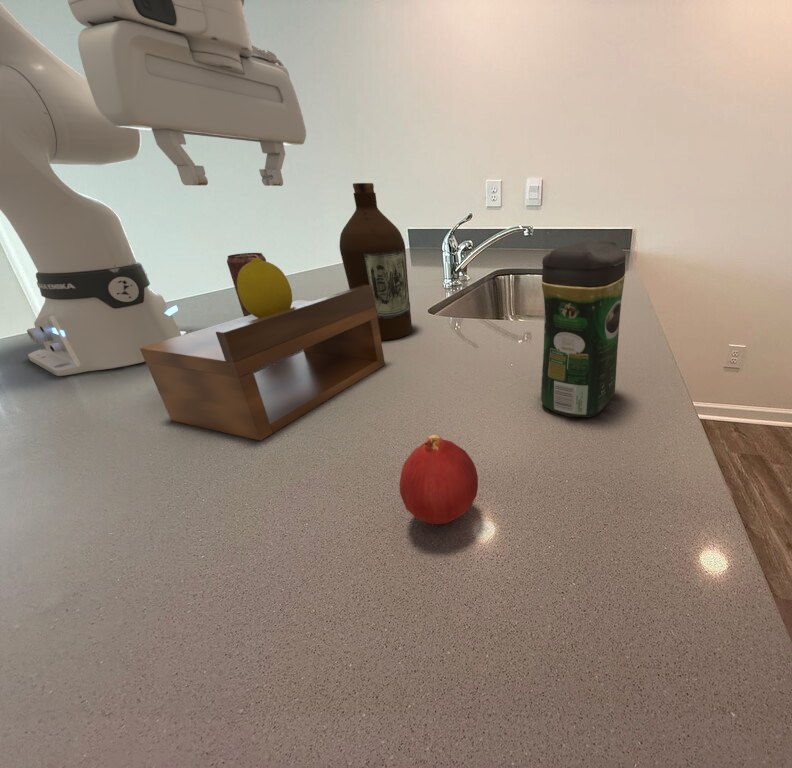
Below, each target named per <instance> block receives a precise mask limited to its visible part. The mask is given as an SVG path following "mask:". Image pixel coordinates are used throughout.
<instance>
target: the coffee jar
mask: <svg viewBox="0 0 792 768" xmlns="http://www.w3.org/2000/svg"><path fill="white" fill-rule="evenodd" d="M626 259H627V258H626V252H624V250H623V249H622V248H621V247H619V246H618V245H617V244H616V242H614V241H609V240H608V241H607V240H589V239H588V240H586V239H585V240H581V241H579V242H578V241H577V242H575V243H572V244H569V245H566V246H563V247H558V248H555V249H552V250H551V251H550V252H549V253H548V254H546V255H544V256H543V258H542V261H541V265H542V271H541V289H542V294H543V304H544V324H543V325H544V327H543V353H542V367H541V368H542V369H541V385H540V386H541V388H540V389H541V390H540V391H541V392H540V397H541V398H540V400H541V403H542V404H543V407H545V408H547V409H548V410H551V411H552V412H553V413H555V414H558V415H561V416H565V417H569V418H578V417H579V418H580V417H582V418H591V417H594V416H596V415H598V414H599V413H600V412H601V411H603V410H604V409H605V408H606V406H608V404H609V403H610V402H611V401H612V399H613V397H614V395H615V392H616V380H617V363H618V348H619V335H620V334H619V333H620V321H621V310H622V301H623V300H622V299H623V292H624V285H625V278H626V276H625V275H626Z"/></svg>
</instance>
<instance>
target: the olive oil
mask: <svg viewBox="0 0 792 768" xmlns="http://www.w3.org/2000/svg"><path fill="white" fill-rule="evenodd" d="M352 188H353V191H354V192H353V198H354V204H355V210H354V212H353V214H352V215H351V217H350V218H349V220H348V221H347V222H346V223H345V225H344V227H343V228H342V230H341V232H340V235H339V252H340V257H341V261H342V265H343V269H344V272H345V277H346V281H347V285H348V290H350V289H353V288H356V287H359V286H362V285H372V289H373V295H374V301H375V306H376V312H377V319H378V325H379V331H380V337H381V342H382V341H392V340H397V339H400V338H403V337H405V336H408V335H409V334H411V333H412V331H413V325H412V324H413V322H412V314H411V302H410V291H409V280H408V267H407V266H408V265H407V252H406V244H405V240H404V238H403V235H402V233H401V231H400V229H398V226H396V225H395V224H394V223H393V222H392V221H391V220H390V219H389V218H388V217H387V216H386V215H384V213H383V212H382V211H380V209H379V207H378V203H377V202H378V201H377V195H376V192H375V190H374V189H375V185H374V183H373V182H353V183H352Z"/></svg>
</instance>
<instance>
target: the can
mask: <svg viewBox="0 0 792 768" xmlns="http://www.w3.org/2000/svg"><path fill="white" fill-rule="evenodd" d="M253 258H260V259H261V260H262V261H266V262H267V258H266V257H265V256H264V255H263V253H262V252H244V253H243V252H242V253H235V254H229V255H227V259H226V263H227V267H228V271H229V273H230V277H231V279H232V283H233V286H234V289H235V293H236V296H237V299H238V302H239V306H240V308H241V312H242V315H243V317H245V316H248V315H251V313H249V312H248V311H247V310H246V308H245V307H244V306H243V304H242V302H241V300H240V297H239V294H238V289H237V278H238V274H239V271H240V270H241V268H242V267H243V266H244V265H246V264H247V263H249V262H251V261H252V259H253Z"/></svg>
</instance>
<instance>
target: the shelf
mask: <svg viewBox="0 0 792 768" xmlns="http://www.w3.org/2000/svg"><path fill="white" fill-rule="evenodd" d="M140 351H141V353H142V355H143V357H144V360H145V364H146V366H147V369H148V372H149V373H150V375H151V377H152V379H153V382H154V385H155V387H156V389H157V392H158V394H159V396H160V398H161V400H162V403H163V405H164V407H165V409H166V412H167V415H168V416H169V418H170V420H171V421H172V422H176V423H181V424H186V425H190V426H194V427H199V428H204V429H208V430H212V431H216V432H221V433H225V434H229V435H234V436H238V437H243V438H247V439H252V440H255V441H260V442H261V441H263V440H264V439H266V438H268V437H269V436H271V435H273V434H275V433H276V432H277V431H279V430H281V429H283V428H284V427H285V426H287V425H289V424H291V423H293V422H294V421H295V420H297V419H299V418H300V417H302V416H304V415H305V414H307V413H309V412H311V411H312V410H313V409H315V408H317V407H318V406H320V405H322V404H324V403H325V402H327V401H329V400H330V399H331V398H333V397H335V396H336V395H338V394H340V393H341V392H343V391H345V390H346V389H348V388H349V387H350V386H352V385H354V384H356V383H358V382H359V381H361V380H362V379H364V378H366V377H367V376H369V375H370V374H372V373H374V372H375V371H377V370H378V369H380V368H382V367H383V366H385V365H386V362H385V356H384V350H383V342H382V341H381V337H380V331H379V325H378V319H377V312H376V306H375V301H374V295H373V289H372V285H362V286H359V287H356V288H353V289H346V290H344V291H340V292H336V293H334V294H331V295H327V296H324V297H322V298H318V299H315V300H304V299H298V300H295V301H292V304H291V307H290V308H289V309H286V310H283V311H280V312H277V313H274V314H270V315H267V316H264V317H261V318H257V317H255V316H253V315H252V314H251V315H248V316H245V317H244V316H242V317H241V316H240V317H238V318H235V319H231V320H228V321H225V322H222V323H218V324H214V325H211V326H209V327H205V328H202V329H199V330H194V331H192V332H187V334H185V335H181V336H178V337H175V338H172V339H168V340H165V341H162V342H158V343H155V344H152V345H148V346H145V347H142V348H140ZM298 352H299V353H298ZM291 355H292V356H291ZM282 359H283V360H282ZM280 360H281V361H280ZM277 361H279V362H277ZM273 363H274V364H273ZM271 364H272V365H271ZM268 365H269V366H268ZM266 366H267V367H266ZM264 367H265V368H264ZM260 369H261V370H260ZM257 370H258V371H257ZM254 371H255V372H254Z"/></svg>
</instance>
